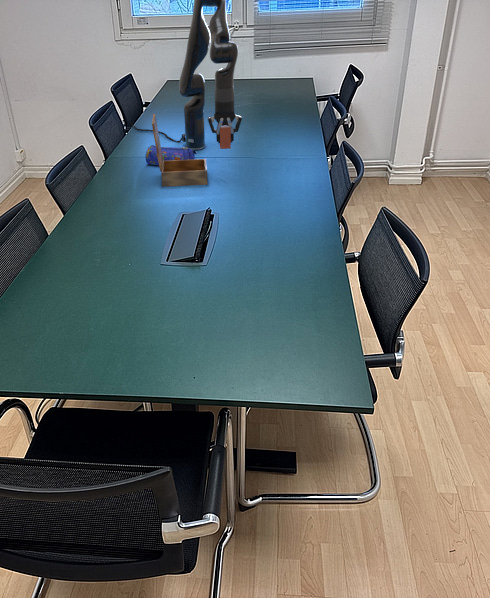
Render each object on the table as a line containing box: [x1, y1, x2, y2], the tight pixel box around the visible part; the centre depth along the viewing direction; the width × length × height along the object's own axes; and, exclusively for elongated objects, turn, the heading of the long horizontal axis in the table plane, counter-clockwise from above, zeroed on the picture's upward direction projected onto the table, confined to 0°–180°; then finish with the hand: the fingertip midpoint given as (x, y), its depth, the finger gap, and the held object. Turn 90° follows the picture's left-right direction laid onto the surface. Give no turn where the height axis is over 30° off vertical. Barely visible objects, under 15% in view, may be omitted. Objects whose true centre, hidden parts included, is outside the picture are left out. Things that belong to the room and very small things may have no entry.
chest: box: [160, 158, 209, 188], centre depth 229 cm, size 19×14×7 cm
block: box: [219, 125, 232, 150], centre depth 220 cm, size 4×4×8 cm
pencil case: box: [145, 144, 197, 166], centre depth 242 cm, size 22×9×10 cm, turn 71°
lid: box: [151, 113, 163, 173], centre depth 221 cm, size 19×14×1 cm
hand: (225, 142), depth 221 cm, fingers closed on block, 4 cm apart
